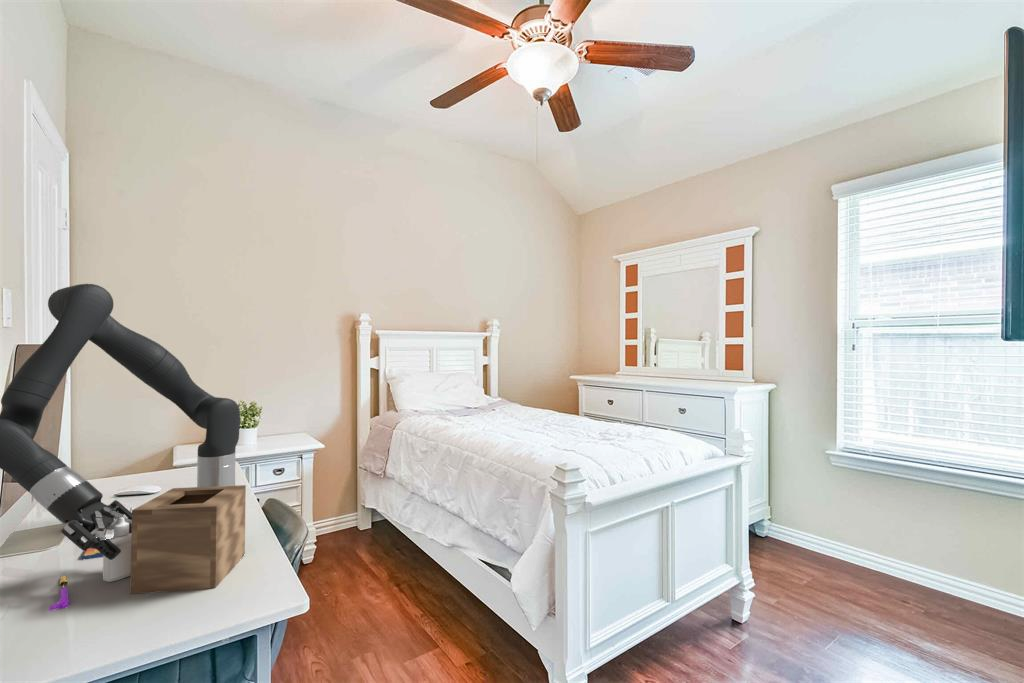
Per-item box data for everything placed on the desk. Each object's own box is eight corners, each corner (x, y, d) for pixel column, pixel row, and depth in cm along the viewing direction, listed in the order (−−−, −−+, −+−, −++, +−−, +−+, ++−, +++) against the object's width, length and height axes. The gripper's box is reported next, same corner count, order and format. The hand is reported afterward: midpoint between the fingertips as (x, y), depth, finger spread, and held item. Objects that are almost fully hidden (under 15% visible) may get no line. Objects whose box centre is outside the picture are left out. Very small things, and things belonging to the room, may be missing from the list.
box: (172, 560, 106) (173, 488, 107) (244, 555, 109) (245, 485, 109) (130, 594, 92) (131, 510, 92) (215, 587, 94) (216, 506, 94)
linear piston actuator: (70, 607, 87) (67, 578, 99) (68, 601, 87) (65, 572, 98) (50, 616, 85) (50, 585, 97) (48, 610, 85) (48, 580, 97)
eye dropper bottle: (138, 576, 99) (139, 517, 99) (102, 584, 95) (103, 523, 96) (137, 568, 102) (138, 512, 103) (103, 576, 99) (104, 517, 99)
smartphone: (132, 534, 123) (132, 530, 123) (122, 554, 110) (122, 549, 110) (94, 540, 119) (94, 536, 119) (80, 561, 106) (80, 556, 106)
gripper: (54, 490, 91) (121, 548, 93) (105, 472, 105) (162, 522, 107) (21, 520, 90) (90, 577, 92) (77, 497, 104) (135, 547, 106)
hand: (129, 547), depth 99 cm, fingers open, 7 cm apart
